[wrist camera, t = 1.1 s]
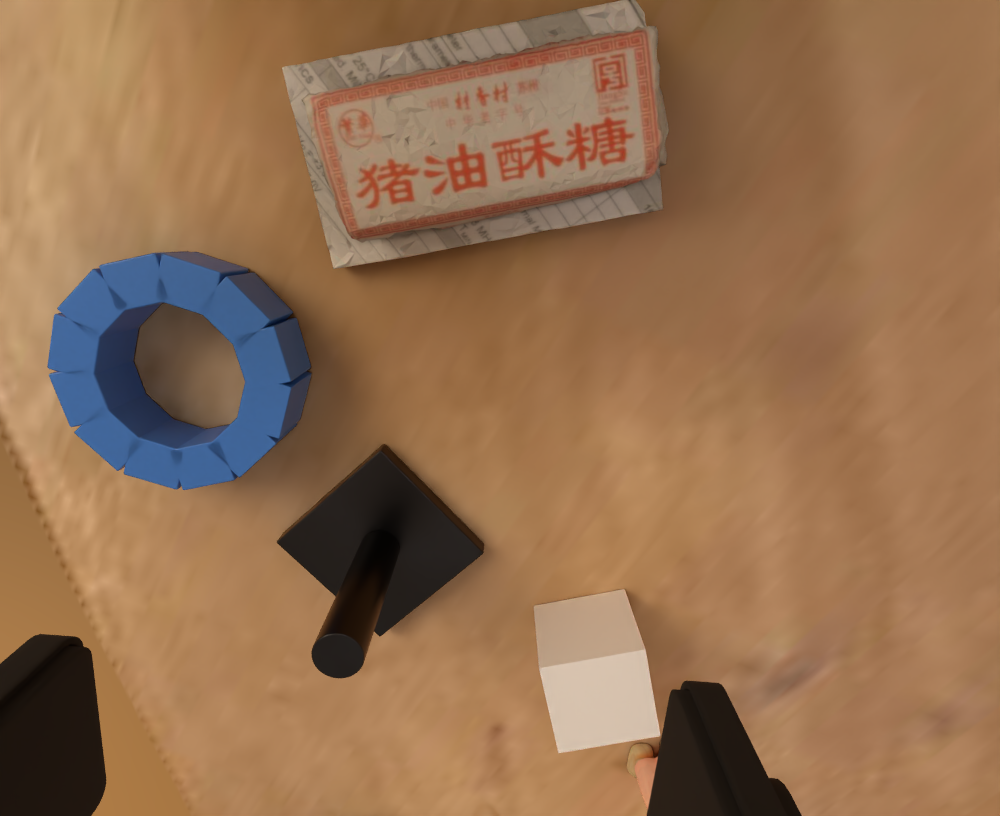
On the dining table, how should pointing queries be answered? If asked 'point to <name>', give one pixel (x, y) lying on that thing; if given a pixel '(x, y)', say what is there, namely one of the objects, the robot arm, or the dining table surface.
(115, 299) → the tape
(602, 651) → the white cube
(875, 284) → the dining table surface
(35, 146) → the dining table surface
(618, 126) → the packaged product
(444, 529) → the peg stand
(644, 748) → the grandmother figurine
